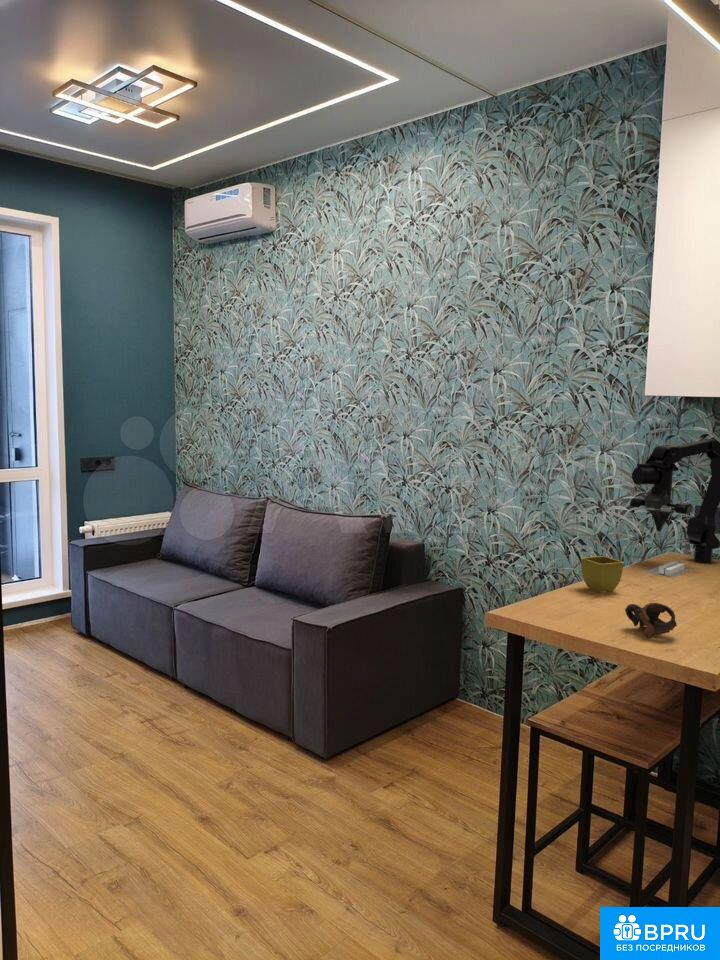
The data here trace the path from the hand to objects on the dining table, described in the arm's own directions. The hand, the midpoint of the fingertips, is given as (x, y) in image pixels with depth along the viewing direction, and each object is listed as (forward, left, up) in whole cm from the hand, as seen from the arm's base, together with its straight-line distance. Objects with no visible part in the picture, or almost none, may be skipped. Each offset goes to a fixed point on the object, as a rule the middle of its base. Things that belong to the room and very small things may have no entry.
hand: (658, 531), depth 247 cm
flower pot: (+43, +1, -12) cm, 45 cm away
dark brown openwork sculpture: (+70, +27, -12) cm, 76 cm away
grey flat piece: (+7, +7, -12) cm, 15 cm away
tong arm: (+7, +7, -11) cm, 15 cm away
